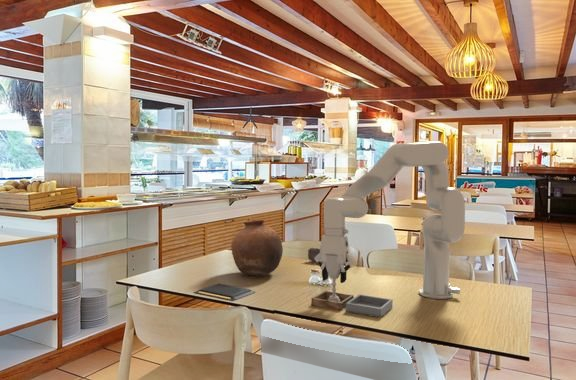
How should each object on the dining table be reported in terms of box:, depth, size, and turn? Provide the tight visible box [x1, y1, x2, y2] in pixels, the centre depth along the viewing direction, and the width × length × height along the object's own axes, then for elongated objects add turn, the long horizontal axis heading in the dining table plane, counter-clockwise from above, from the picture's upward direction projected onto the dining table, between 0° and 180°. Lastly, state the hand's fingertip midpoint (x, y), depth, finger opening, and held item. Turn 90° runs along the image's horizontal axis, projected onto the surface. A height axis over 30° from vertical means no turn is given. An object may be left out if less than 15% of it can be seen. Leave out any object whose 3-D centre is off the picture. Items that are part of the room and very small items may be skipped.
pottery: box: [230, 218, 284, 277], centre depth 216 cm, size 23×23×25 cm
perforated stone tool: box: [307, 247, 320, 263], centre depth 243 cm, size 15×5×7 cm, turn 61°
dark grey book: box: [192, 283, 256, 302], centre depth 187 cm, size 20×2×15 cm
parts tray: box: [345, 294, 394, 318], centre depth 168 cm, size 13×13×3 cm
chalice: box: [325, 254, 342, 302], centre depth 174 cm, size 7×7×18 cm
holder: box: [311, 290, 355, 311], centre depth 175 cm, size 12×12×2 cm
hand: (334, 280), depth 174 cm, fingers closed on chalice, 6 cm apart
